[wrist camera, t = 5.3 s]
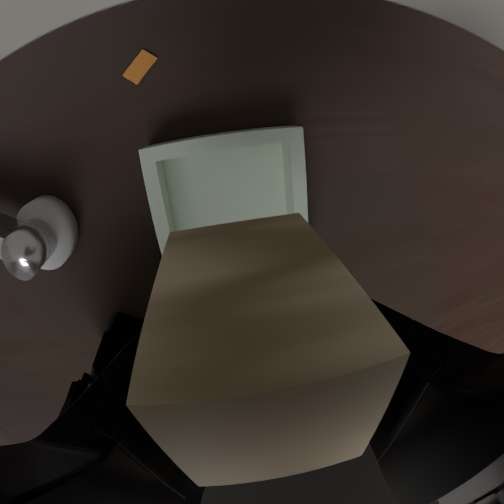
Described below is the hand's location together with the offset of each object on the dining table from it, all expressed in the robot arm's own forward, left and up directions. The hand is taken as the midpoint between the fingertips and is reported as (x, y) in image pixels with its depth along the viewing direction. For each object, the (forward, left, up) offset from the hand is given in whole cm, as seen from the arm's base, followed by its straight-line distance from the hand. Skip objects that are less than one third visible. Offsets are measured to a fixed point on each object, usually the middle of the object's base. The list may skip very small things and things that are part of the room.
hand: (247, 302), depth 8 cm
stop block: (0, 0, -1) cm, 1 cm away
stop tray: (0, 0, -11) cm, 11 cm away
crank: (+16, +7, -9) cm, 19 cm away
